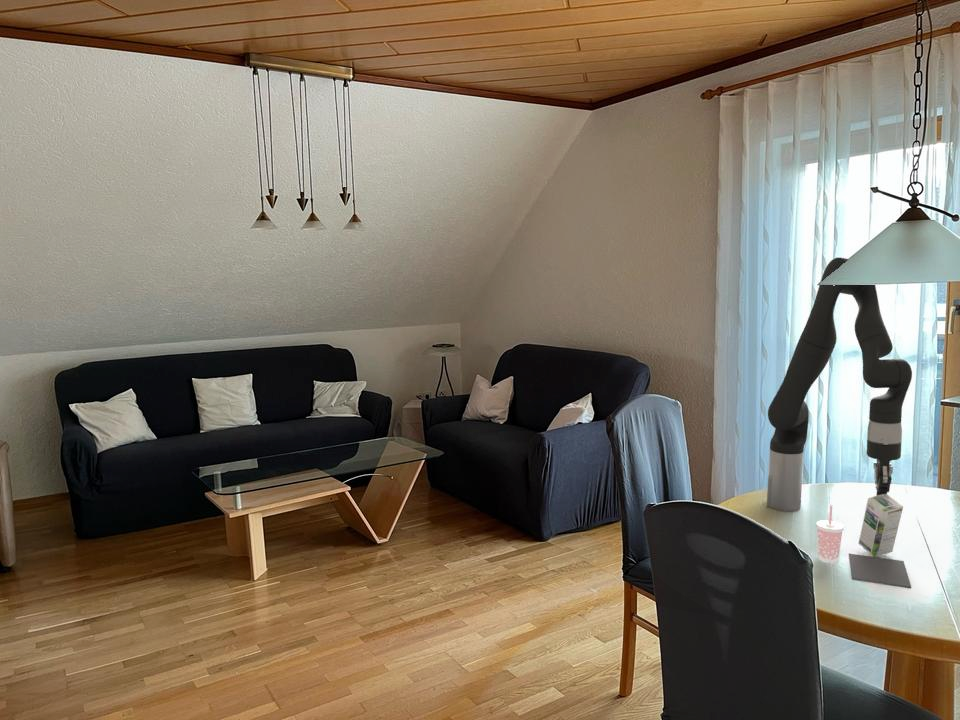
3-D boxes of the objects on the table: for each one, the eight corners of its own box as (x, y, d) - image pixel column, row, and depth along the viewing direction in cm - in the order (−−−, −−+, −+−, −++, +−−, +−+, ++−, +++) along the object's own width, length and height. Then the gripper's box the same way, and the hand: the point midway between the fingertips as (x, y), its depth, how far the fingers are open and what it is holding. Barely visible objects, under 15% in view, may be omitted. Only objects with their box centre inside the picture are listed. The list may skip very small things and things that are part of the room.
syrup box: (857, 543, 187) (866, 497, 181) (876, 537, 189) (886, 492, 182) (873, 558, 182) (883, 511, 176) (893, 552, 184) (904, 505, 177)
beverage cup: (815, 552, 186) (818, 499, 184) (842, 556, 183) (845, 503, 181) (813, 561, 181) (816, 507, 179) (841, 566, 178) (844, 511, 176)
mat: (851, 579, 171) (851, 577, 171) (848, 554, 185) (848, 553, 185) (911, 588, 166) (911, 586, 166) (903, 562, 180) (903, 560, 180)
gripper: (864, 431, 191) (862, 495, 193) (869, 444, 179) (866, 512, 181) (898, 433, 188) (894, 498, 190) (905, 446, 176) (901, 515, 178)
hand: (881, 505), depth 186 cm, fingers closed
